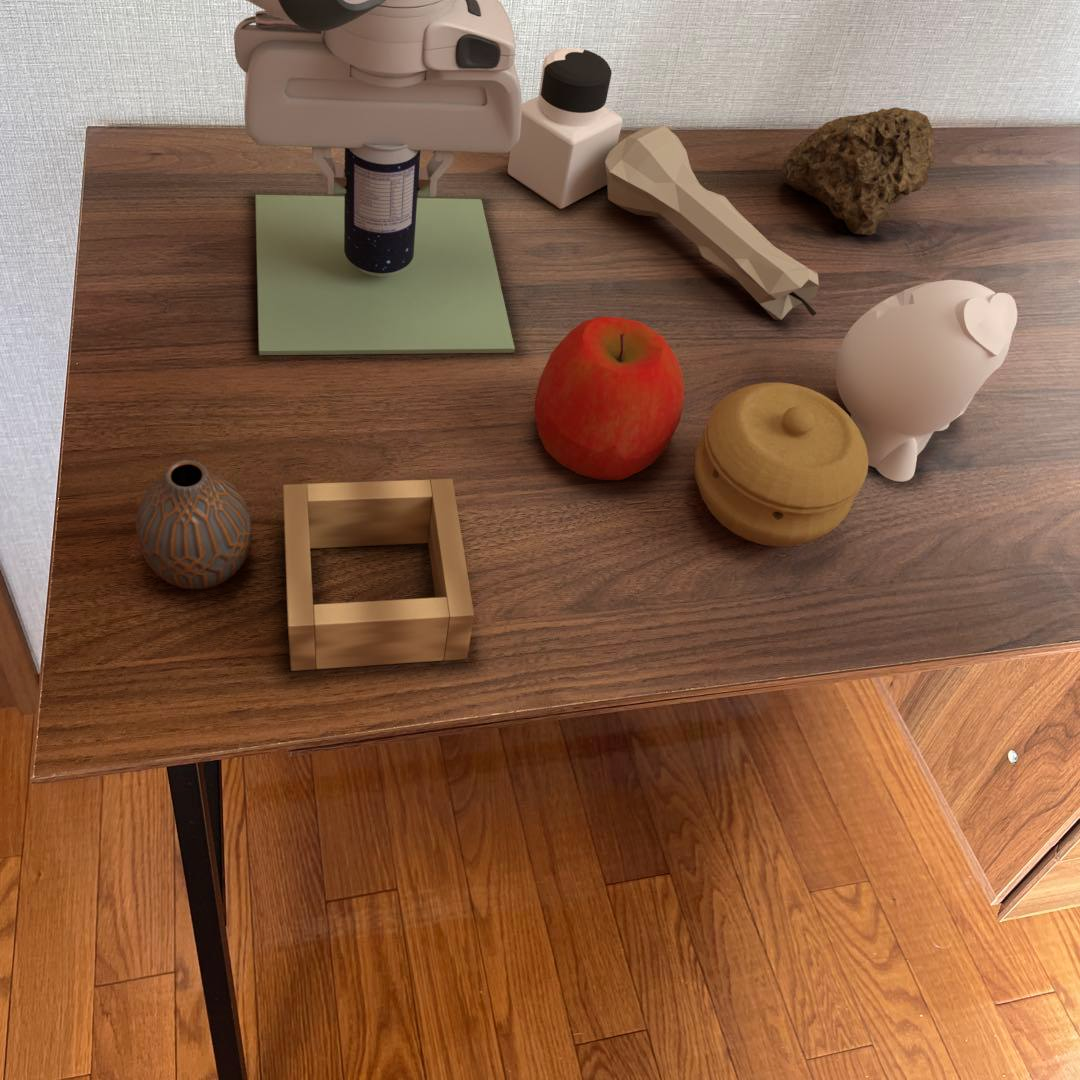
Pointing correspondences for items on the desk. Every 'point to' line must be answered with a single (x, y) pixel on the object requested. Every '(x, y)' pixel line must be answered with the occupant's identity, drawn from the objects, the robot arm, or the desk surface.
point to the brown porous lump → (863, 164)
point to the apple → (609, 398)
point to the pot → (780, 463)
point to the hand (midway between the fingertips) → (381, 191)
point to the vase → (193, 526)
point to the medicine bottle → (567, 129)
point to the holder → (376, 625)
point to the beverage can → (380, 207)
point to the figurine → (920, 365)
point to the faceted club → (704, 219)
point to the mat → (376, 284)
